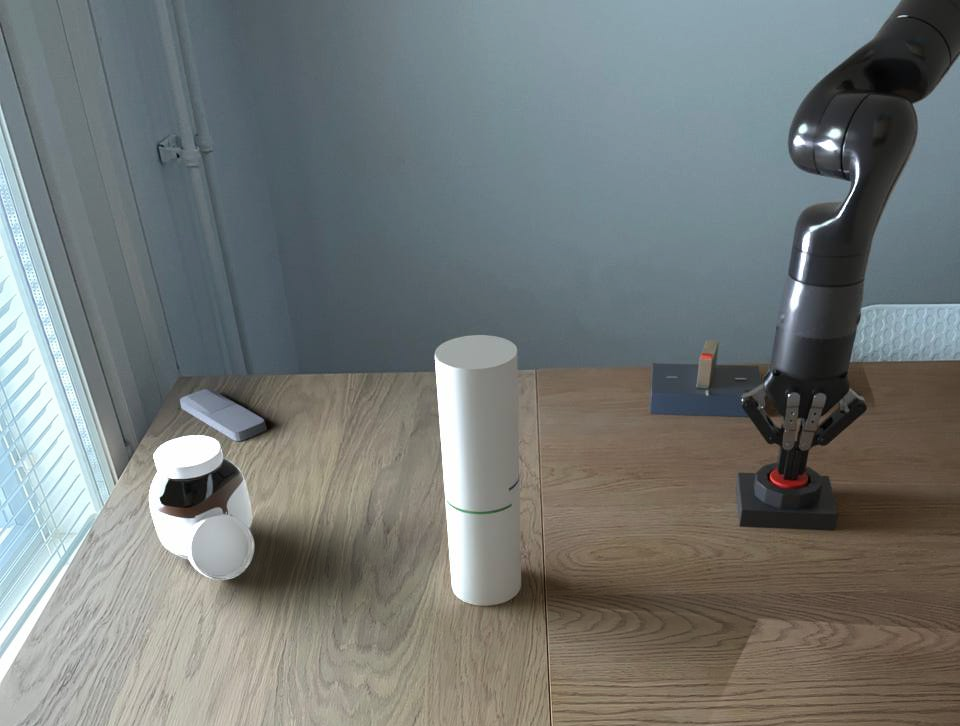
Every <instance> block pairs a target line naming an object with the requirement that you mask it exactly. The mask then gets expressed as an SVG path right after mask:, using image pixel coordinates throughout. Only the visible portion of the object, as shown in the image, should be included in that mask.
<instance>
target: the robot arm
mask: <svg viewBox="0 0 960 726" xmlns="http://www.w3.org/2000/svg"><path fill="white" fill-rule="evenodd" d="M959 58H960V0H900V1H899V2H898V4H897V5H896V7H895V8H894V9H893V10H892V11H891V13H890V14H889V16H888V17H887V19H885V22H884V23H883V24H882V25H881V27H879V30H878V31H877V32H876V34H875V35H874V36H873V38H871V40H869V41H868V42H867V43H865V44H864V45H862V46H861V47H859V48H858V49H856V50H855V51H854V52H853V53H852V54H851V55H849V56H848V57H847V58H846V59H844V60H843V61H842V62H841V63H840V64H839V65H837V66H836V67H835V68H833V69H832V70H831V71H829V73H827V74H826V75H825V76H823V77H822V79H820V80H819V81H818V82H817V83H816V84H815V85H814V86H813V87H812V88H811V89H810V90H809V92H808V93H807V94H806V95H805V97H804V98H803V99H802V101H801V103H800V104H799V105H798V107H797V109H796V111H795V113H794V115H793V118H792V120H791V123H790V126H789V129H788V135H787V148H788V154H789V157H790V159H791V161H792V163H793V164H794V166H795V167H796V168H798V169H799V170H801V171H802V172H805V173H806V174H807V173H808V174H811V175H815V176H821V177H826V178H830V179H835V180H840V181H845V182H850V186H849V190H848V193H847V195H846V197H845V198H844V200H843V201H825V202H818V203H813V204H811V205H809V206H807V207H805V208H804V209H802V211H801V212H800V214H799V215H798V216H797V220H796V223H795V227H794V232H793V239H792V244H791V251H790V258H789V264H788V270H787V274H786V279H785V281H784V285H783V289H782V292H781V297H780V302H779V308H778V315H777V321H776V327H775V334H774V340H773V347H772V354H771V357H770V358H771V359H770V365H769V368H768V370H767V372H766V373H765V374H764V376H763V378H762V383H761V385H760V386H758V387H756V388H755V389H753V390H752V391H750V390H744V391H743V392H742V393H741V402H742V408H743V409H744V411H745V412H746V414H747V415H748V416H749V417H748V418H749V419H750V421H751V422H752V423H753V425H754V427H755V428H756V429H757V430H758V432H759V434H760V435H761V436H762V438H763V439H764V441H765V442H766V443H767V444H768V445H774V444H775V445H778V446H779V449H778V453H777V459H776V462H777V468H778V473H779V474H782V477H783V479H784V480H797V478H798V475H803V473H804V472H805V468H806V466H807V462H808V457H809V452H810V451H811V449H812V448H813V447H816V446H821V447H826V446H828V445H829V444H830V443H831V442H832V441H833V440H835V438H837V437H839V435H840V434H842V432H844V431H845V430H846V429H847V428H849V427H850V426H851V424H853V423H854V422H855V421H856V420H857V419H859V418H860V417H861V416H862V415H863V414H865V412H866V411H867V409H868V406H867V403H866V400H865V397H864V395H863V393H861V392H855V391H854V390H853V389H852V388H851V382H850V379H849V376H848V375H849V374H848V373H849V369H850V364H851V359H852V356H853V355H852V354H853V350H854V345H855V341H856V337H857V331H858V326H859V324H860V322H861V319H862V308H863V301H864V295H865V294H864V292H865V280H866V275H867V270H868V266H869V262H870V261H869V260H870V256H871V251H872V246H873V241H874V238H875V235H876V231H877V228H878V226H879V224H880V222H881V219H882V216H883V214H884V212H885V210H886V208H887V205H888V203H889V201H890V199H891V196H892V195H893V192H894V190H895V188H896V186H897V185H898V182H899V181H900V179H901V176H902V175H903V173H904V171H905V169H906V167H907V166H908V163H909V162H910V159H911V157H912V155H913V152H914V150H915V147H916V143H917V140H918V135H919V119H918V114H917V111H916V108H915V105H914V104H918V103H919V102H921V101H923V100H925V99H926V98H928V97H929V96H930V95H931V94H932V93H933V92H934V91H935V90H936V89H937V87H938V86H939V85H940V84H941V82H942V81H943V80H944V78H945V77H946V75H947V74H948V72H949V71H950V70H951V69H952V67H953V66H954V65H955V63H956V61H957V60H958V59H959ZM766 397H767V398H768V399H769V401H770V403H771V404H772V406H773V407H774V409H775V410H776V412H777V413H778V415H779V416H781V422H780V423H781V425H780V427H778V426H776V425H775V423H774V421H773V420H772V419H771V417H770V416H769V414H768V413H767V412H766V410H765V407H766V399H765V398H766ZM837 404H838V406H839V407H837V408H836V409H835V410H834V411H833V412H832V413H830V414H829V415H828V416H827V417H826V418H825V419H824V420H822V421H821V422H820V420H821V418H822V417H823V416H825V415H826V414H828V413H829V411H830V410H832V409H833V408H834V407H835V406H836V405H837ZM798 419H800V421H799V424H798Z"/></svg>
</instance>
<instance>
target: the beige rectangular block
mask: <svg viewBox="0 0 960 726" xmlns="http://www.w3.org/2000/svg"><path fill="white" fill-rule="evenodd" d="M719 344H720V341H719V340H714V339H713V340H712V339H706V341H705V344H704V347H703V349H702V350H701V351H702V352H701V354H700V357H699V361H698V364H699V369H698V379H697V388H706V389H709V387H710V384H711V381H712V378H713V376H714V373H715V370H716V365H717V363H718V353H719Z"/></svg>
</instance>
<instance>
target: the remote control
mask: <svg viewBox="0 0 960 726" xmlns="http://www.w3.org/2000/svg"><path fill="white" fill-rule="evenodd" d="M179 402H180V408H181V410H183V411H185V412H186V413H188V414H190V415H191V416H193V417H195V418H196V419H198V420H199V421H201V422H203V423H205V424H206V425H207V426H209V427H211V428H212V429H214V430H216V431H218V432H220V433H221V434H223V435H224V436H226V437H228V438H229V439H231V440H232V441H235V442H242V441H245V440H248V439H250V438H252V437H255V436H257V435H260V434H263V433H264V432H266V431H267V429H268V427H267V425H266V421H265V419H264V418H263V417H261V416H259V415H258V414H256V413H254V412H252V411H251V410H249V409H247V408H245V407H244V406H242V405H240V404H239V403H236V402H235V401H233V400H231V399H229V398H228V397H226V396H224V395H222V394H221V393H219V392H217V391H215V390H213V389H212V388H203V389H201V390H198V391H195V392H192V393H190V394H187V395H185V396H182V397H180V399H179Z"/></svg>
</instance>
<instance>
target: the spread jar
mask: <svg viewBox="0 0 960 726" xmlns="http://www.w3.org/2000/svg"><path fill="white" fill-rule="evenodd" d="M153 460H154V464H155V467H156V470H157V472H156V473H155V475H154V478H153V480H152V483H151V484H150V489H149V493H148V502H149V509H150V513H151V517H152V520H153V524H154V527H155V530H156V534H157V536H158V538H159V541H160V543H161V544H162V545H163V546H164V547H163V548H165V549H167V550H168V551H169V552H170V553H172V554H174V555H175V556H177V557H180V558H181V559H184V560H186V561H189V562H190V564H191V565H192V567H193V568H194V569H195V570H196V571H197V572H198V573H200V574H201V575H203V576H205V577H207V578H209V579H212V580H216V581H227V580H231V579H234V578H236V577H238V576H239V575H241V574H242V573H244V571H246V569H248V567H249V566H250V564H251V563H252V560H253V557H254V553H255V539H254V536H253V533H252V531H251V526H252V523H253V522H252V521H253V512H252V511H253V510H252V505H251V500H250V496H249V490H248V487H247V483H246V482H247V481H246V480H245V477H244V474H243V472H242V470H241V469H240V468H239V467H238V466H237V465H236V464H234V463H233V462H232V461H230V460H229V459H227V458H226V457H224V454H223V450H222V445H221V443H220V441H218V440H217V439H215V438H214V437H211V436H207V435H199V434H197V435H185V436H180V437H176V438H173V439H171V440H168V441H166V442H164V443H163V444H161V445H160V446H159V447H157V449H156V450H155V452H154V453H153Z"/></svg>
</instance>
